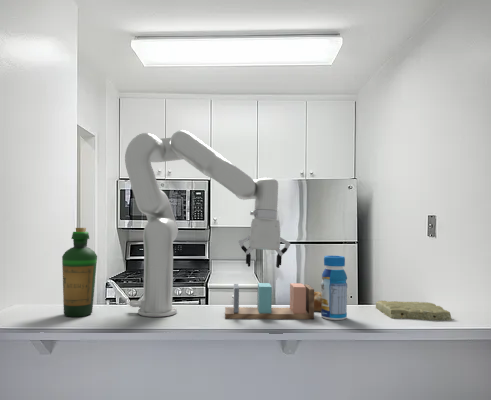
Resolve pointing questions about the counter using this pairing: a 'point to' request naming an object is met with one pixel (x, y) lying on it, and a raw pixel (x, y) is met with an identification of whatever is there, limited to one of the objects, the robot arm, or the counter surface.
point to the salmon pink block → (298, 298)
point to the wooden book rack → (274, 310)
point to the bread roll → (317, 301)
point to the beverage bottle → (334, 289)
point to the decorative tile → (413, 310)
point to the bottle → (79, 276)
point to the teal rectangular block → (264, 298)
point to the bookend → (236, 298)
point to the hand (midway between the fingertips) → (263, 266)
